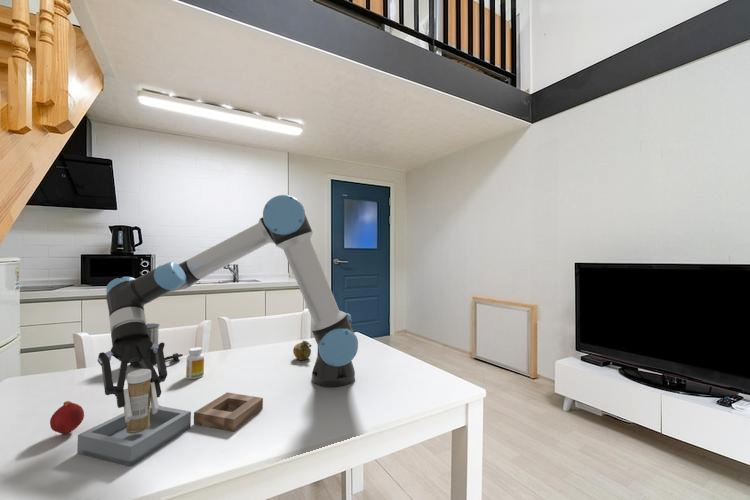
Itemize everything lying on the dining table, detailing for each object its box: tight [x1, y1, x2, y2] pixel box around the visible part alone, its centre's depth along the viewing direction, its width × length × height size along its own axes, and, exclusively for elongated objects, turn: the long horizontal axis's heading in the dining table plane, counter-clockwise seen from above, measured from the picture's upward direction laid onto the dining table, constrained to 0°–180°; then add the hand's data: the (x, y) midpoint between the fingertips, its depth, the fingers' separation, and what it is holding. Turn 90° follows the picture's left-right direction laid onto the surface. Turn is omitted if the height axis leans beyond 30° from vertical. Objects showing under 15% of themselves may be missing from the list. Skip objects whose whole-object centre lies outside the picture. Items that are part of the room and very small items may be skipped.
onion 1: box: [49, 400, 85, 436], centre depth 75 cm, size 6×6×8 cm
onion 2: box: [292, 340, 313, 361], centre depth 131 cm, size 8×8×8 cm
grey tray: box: [76, 403, 192, 467], centre depth 74 cm, size 15×15×4 cm
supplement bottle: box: [185, 346, 205, 380], centre depth 111 cm, size 5×5×10 cm
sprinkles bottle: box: [126, 368, 151, 434], centre depth 74 cm, size 5×5×13 cm
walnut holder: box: [193, 392, 264, 432], centre depth 85 cm, size 12×12×3 cm
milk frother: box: [129, 322, 184, 368], centre depth 123 cm, size 14×16×15 cm
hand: (142, 414), depth 71 cm, fingers closed on sprinkles bottle, 4 cm apart
